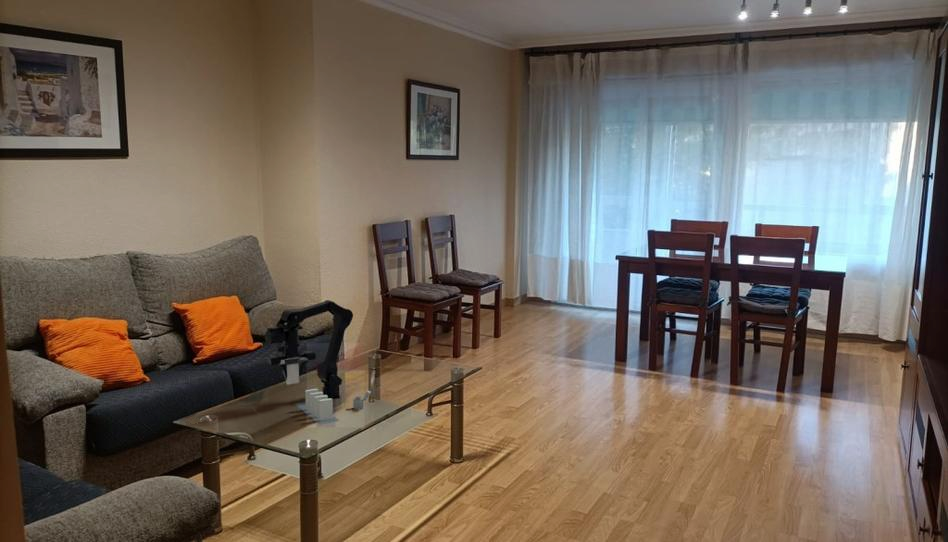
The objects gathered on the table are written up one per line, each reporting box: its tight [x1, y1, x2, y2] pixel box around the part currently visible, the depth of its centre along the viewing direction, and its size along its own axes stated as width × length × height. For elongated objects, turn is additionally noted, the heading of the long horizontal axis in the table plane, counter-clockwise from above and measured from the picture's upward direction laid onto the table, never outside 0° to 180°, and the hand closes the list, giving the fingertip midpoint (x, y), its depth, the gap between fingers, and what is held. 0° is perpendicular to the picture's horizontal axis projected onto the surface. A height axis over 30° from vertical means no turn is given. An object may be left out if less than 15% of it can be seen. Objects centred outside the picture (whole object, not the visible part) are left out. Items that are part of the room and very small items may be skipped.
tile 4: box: [319, 398, 334, 421], centre depth 275 cm, size 2×5×8 cm, turn 122°
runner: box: [294, 401, 340, 425], centre depth 284 cm, size 30×8×1 cm, turn 33°
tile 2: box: [310, 391, 323, 414], centre depth 283 cm, size 2×5×8 cm, turn 123°
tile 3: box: [314, 395, 328, 417], centre depth 279 cm, size 2×5×8 cm, turn 123°
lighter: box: [352, 389, 372, 410], centre depth 289 cm, size 7×2×8 cm, turn 82°
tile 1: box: [305, 388, 320, 410], centre depth 288 cm, size 2×5×8 cm, turn 122°
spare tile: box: [285, 362, 300, 386], centre depth 291 cm, size 2×5×8 cm, turn 122°
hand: (292, 377), depth 291 cm, fingers closed on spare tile, 5 cm apart
